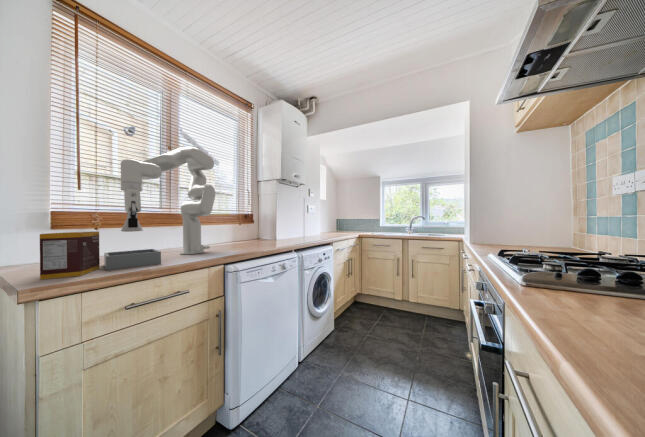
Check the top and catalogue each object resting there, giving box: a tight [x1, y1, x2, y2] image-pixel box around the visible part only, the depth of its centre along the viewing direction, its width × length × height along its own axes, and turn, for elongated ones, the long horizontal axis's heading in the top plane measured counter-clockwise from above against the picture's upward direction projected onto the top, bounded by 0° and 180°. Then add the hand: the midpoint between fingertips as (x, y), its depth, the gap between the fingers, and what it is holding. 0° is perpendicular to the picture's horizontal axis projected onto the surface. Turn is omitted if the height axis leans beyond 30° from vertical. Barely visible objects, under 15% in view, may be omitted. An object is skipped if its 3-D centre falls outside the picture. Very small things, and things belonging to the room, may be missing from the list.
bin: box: [103, 248, 162, 271], centre depth 103 cm, size 18×18×6 cm
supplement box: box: [39, 230, 101, 280], centre depth 86 cm, size 10×15×16 cm
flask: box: [120, 212, 144, 233], centre depth 104 cm, size 7×7×10 cm
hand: (132, 227), depth 103 cm, fingers closed on flask, 5 cm apart
